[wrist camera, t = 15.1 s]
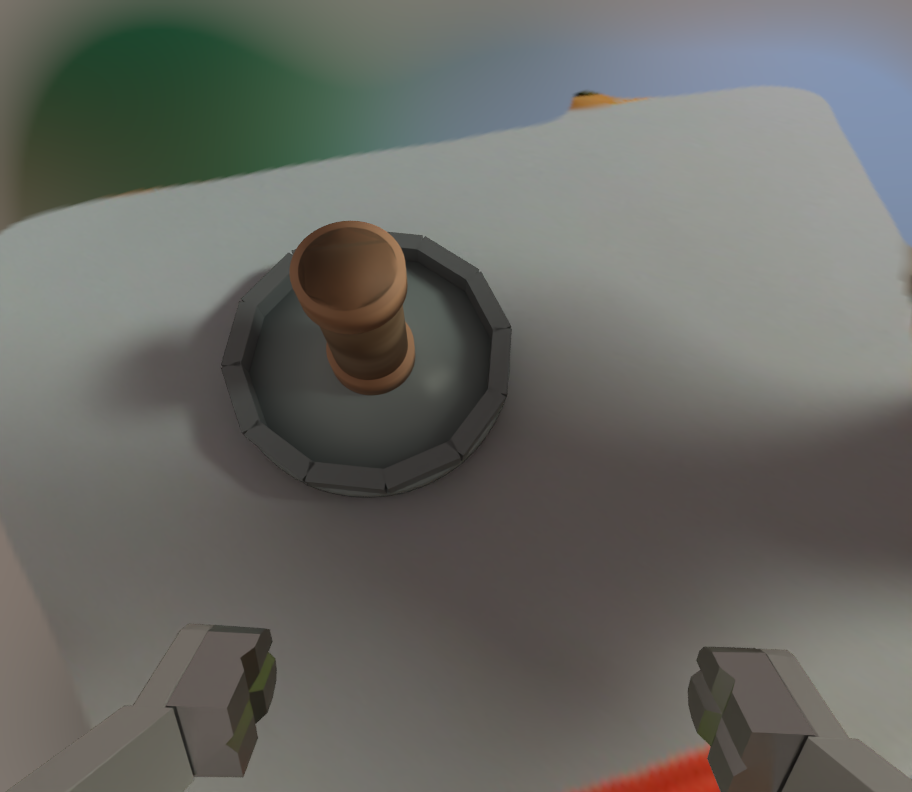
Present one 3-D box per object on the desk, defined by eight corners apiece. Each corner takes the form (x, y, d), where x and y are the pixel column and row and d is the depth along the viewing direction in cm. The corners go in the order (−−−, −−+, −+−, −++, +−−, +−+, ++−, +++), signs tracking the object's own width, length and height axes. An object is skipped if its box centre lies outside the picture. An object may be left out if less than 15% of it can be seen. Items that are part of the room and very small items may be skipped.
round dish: (443, 220, 40) (442, 196, 37) (555, 428, 34) (564, 416, 32) (206, 302, 37) (190, 282, 34) (285, 546, 31) (272, 542, 28)
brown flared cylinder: (396, 308, 36) (380, 207, 26) (428, 376, 34) (423, 293, 25) (319, 336, 35) (274, 242, 25) (348, 408, 33) (310, 335, 24)
